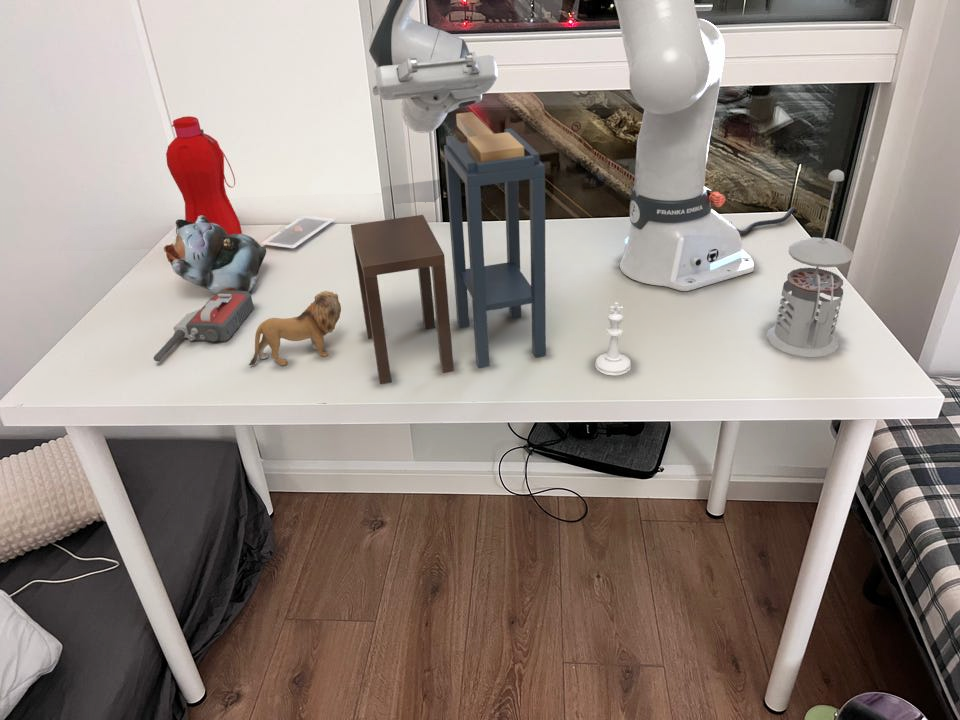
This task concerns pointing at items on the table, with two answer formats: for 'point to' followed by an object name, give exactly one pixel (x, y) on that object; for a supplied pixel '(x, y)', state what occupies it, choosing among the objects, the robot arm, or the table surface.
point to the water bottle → (201, 175)
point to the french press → (811, 295)
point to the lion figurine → (300, 327)
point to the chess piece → (613, 348)
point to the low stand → (393, 252)
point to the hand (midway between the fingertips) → (442, 60)
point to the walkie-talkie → (212, 320)
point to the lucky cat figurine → (214, 256)
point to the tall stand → (506, 280)
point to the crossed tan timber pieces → (487, 140)
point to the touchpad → (297, 231)
